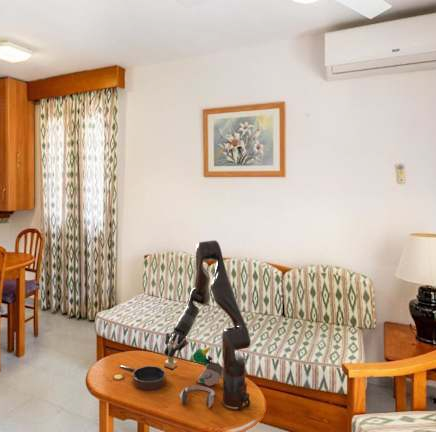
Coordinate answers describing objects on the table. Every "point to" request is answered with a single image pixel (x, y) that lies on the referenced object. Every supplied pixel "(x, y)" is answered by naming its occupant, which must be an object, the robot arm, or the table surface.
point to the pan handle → (127, 368)
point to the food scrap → (118, 376)
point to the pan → (149, 378)
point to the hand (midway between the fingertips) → (167, 355)
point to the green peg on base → (170, 360)
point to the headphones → (209, 397)
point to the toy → (208, 368)
